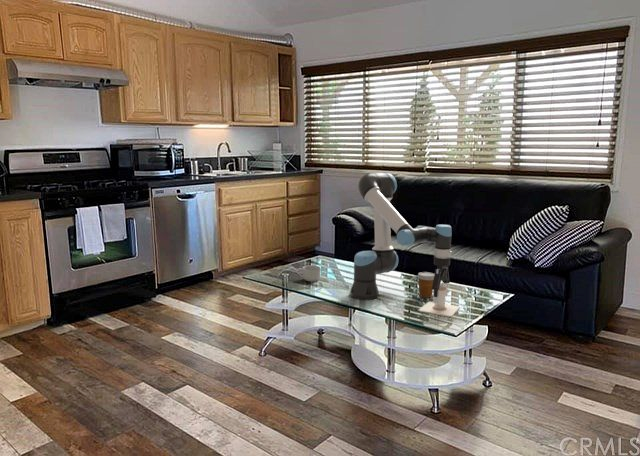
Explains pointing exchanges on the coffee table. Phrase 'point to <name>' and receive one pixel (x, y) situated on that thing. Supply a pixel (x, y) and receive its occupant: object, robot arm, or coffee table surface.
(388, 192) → the robot arm
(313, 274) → the teacup
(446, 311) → the card
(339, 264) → the coffee table surface
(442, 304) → the plastic tube
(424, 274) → the disposable coffee cup
